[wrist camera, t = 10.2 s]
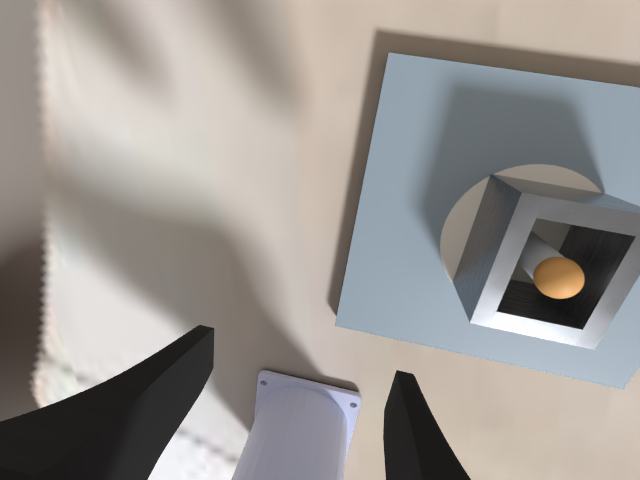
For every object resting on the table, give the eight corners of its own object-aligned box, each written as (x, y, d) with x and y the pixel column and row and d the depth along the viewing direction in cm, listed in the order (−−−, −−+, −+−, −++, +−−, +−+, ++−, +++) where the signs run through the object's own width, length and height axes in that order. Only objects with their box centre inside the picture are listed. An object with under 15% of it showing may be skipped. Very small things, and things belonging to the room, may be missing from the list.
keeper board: (613, 377, 21) (693, 470, 16) (336, 317, 23) (323, 382, 17) (787, 111, 15) (1019, 114, 9) (388, 55, 17) (392, 31, 11)
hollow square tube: (552, 302, 19) (594, 349, 15) (452, 282, 19) (469, 323, 16) (607, 193, 16) (673, 219, 13) (490, 173, 17) (521, 192, 13)
